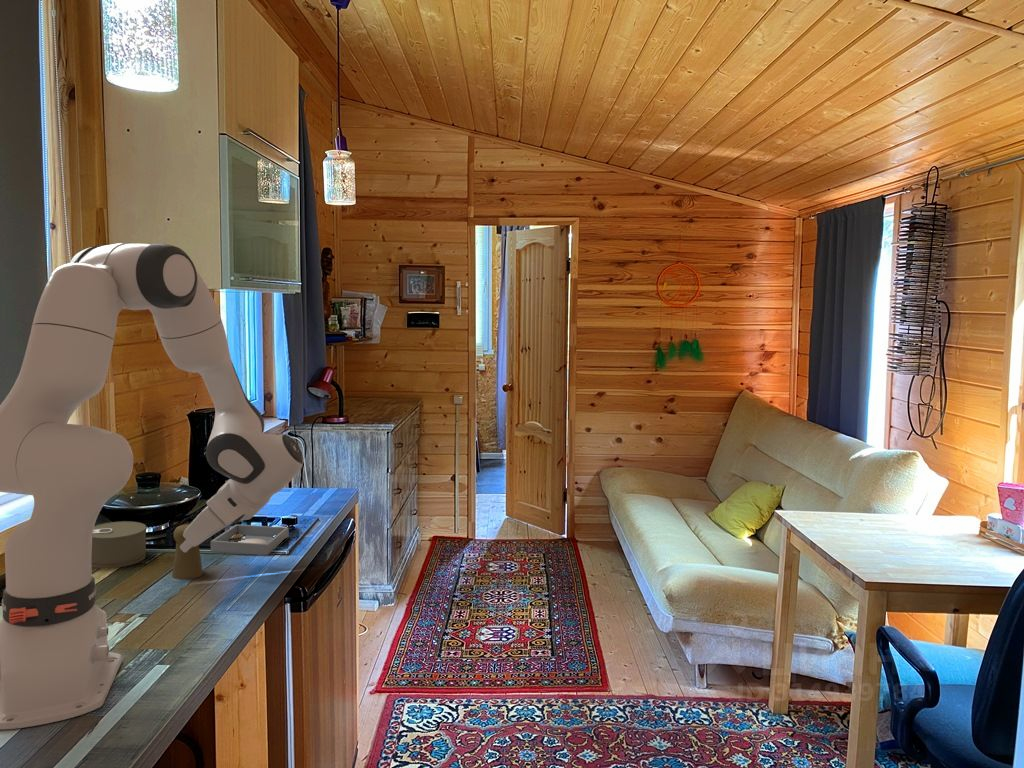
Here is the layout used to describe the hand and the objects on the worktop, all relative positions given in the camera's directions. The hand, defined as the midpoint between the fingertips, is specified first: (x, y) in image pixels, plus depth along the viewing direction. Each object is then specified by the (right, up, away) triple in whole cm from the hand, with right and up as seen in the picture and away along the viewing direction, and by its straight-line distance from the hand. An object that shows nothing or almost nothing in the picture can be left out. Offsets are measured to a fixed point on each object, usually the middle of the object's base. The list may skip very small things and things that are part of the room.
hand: (195, 541), depth 154 cm
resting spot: (+4, -5, +21) cm, 22 cm away
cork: (-2, -8, +1) cm, 8 cm away
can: (-21, -6, +10) cm, 24 cm away
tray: (+4, -6, +21) cm, 22 cm away
